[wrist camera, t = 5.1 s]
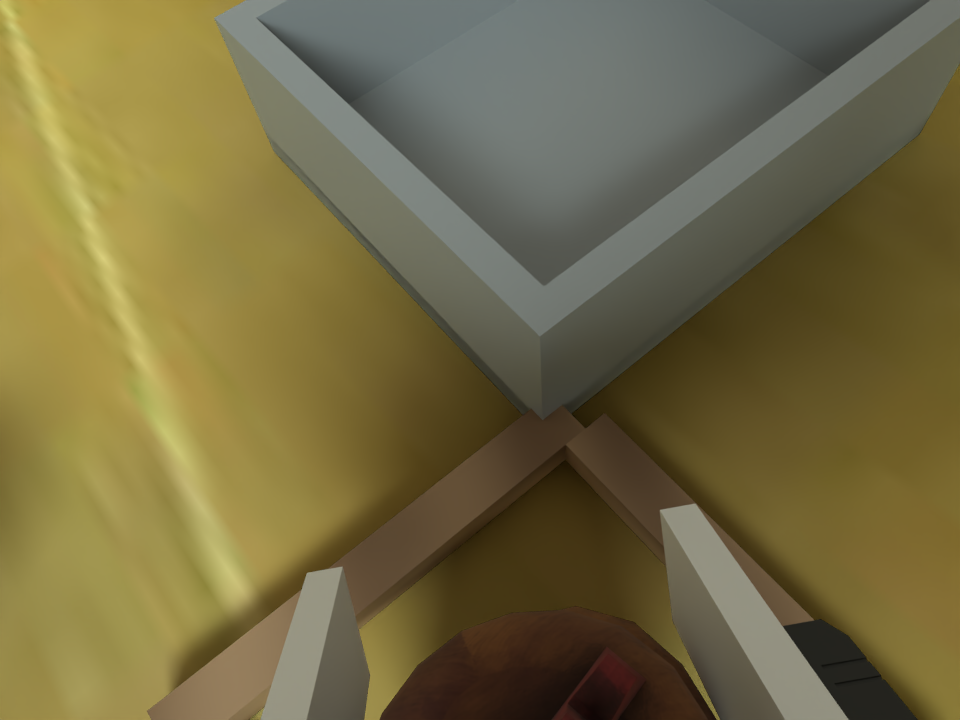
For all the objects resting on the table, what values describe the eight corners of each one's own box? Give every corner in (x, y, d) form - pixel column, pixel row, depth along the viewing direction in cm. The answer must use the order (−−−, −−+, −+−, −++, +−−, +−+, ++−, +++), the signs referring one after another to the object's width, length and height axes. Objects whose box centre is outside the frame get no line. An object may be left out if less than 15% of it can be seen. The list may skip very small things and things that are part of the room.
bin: (610, -55, 34) (620, -206, 29) (919, 134, 27) (1005, -18, 22) (274, 151, 30) (214, 18, 25) (543, 436, 23) (539, 336, 18)
